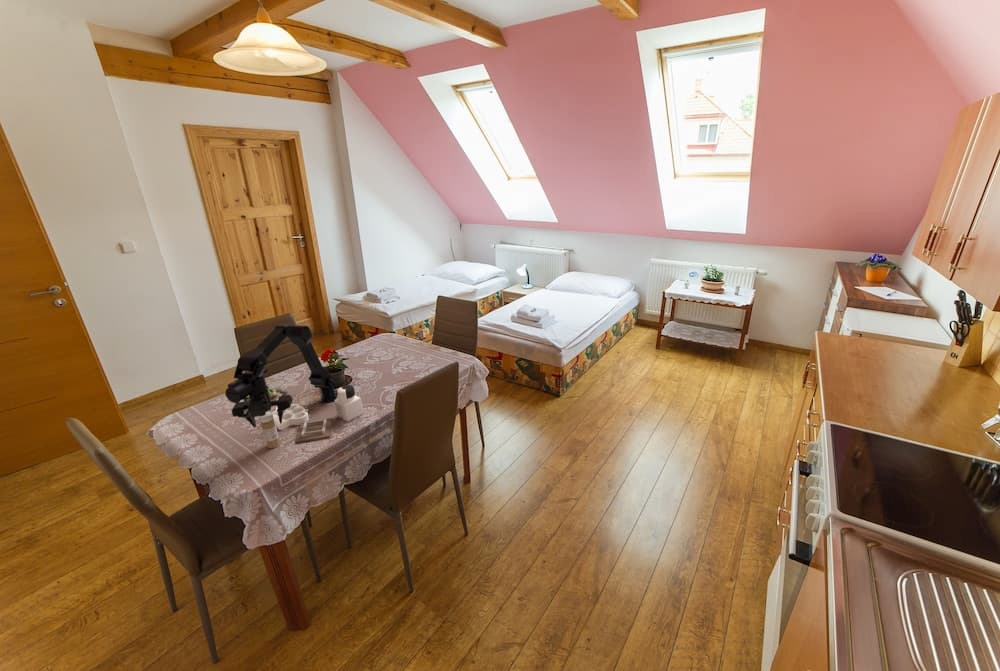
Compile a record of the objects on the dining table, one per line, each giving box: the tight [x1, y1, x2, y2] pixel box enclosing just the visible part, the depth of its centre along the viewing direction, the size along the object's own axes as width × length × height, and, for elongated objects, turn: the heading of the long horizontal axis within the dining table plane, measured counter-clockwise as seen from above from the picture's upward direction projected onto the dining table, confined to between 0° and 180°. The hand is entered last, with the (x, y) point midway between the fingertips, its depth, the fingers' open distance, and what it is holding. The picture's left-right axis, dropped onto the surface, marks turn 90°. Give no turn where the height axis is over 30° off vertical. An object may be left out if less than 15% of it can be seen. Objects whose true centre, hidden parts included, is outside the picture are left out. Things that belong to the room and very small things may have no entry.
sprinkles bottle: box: [258, 411, 281, 449], centre depth 156 cm, size 5×5×14 cm
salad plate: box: [239, 386, 289, 404], centre depth 191 cm, size 19×18×5 cm
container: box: [334, 384, 364, 422], centre depth 174 cm, size 8×8×13 cm
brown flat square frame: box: [295, 417, 334, 444], centre depth 166 cm, size 13×12×2 cm
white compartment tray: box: [271, 403, 310, 431], centre depth 175 cm, size 3×18×15 cm
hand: (268, 425), depth 155 cm, fingers open, 8 cm apart
